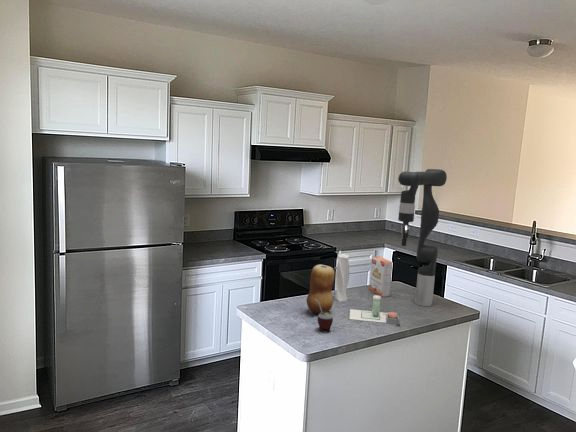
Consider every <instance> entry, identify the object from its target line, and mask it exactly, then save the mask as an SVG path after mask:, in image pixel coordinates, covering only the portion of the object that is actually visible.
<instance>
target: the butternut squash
mask: <svg viewBox="0 0 576 432" xmlns="http://www.w3.org/2000/svg"><path fill="white" fill-rule="evenodd" d="M335 277H336V273H335V270H334V268H333V267H331V266H329V265H325V264H316V265H314V266H313V267H312V269H311V274H310V282H309V291H308V294H307V297H306V300H305V302H306V304H307V307H308V309H309V310H310V311H311V312H312V313H313V314H316V315H317V314H318V315H319V314H320V313H321V310H320V307H319V304H318V302H319V303H320V306H321V309H322V312H329V311H330V310H332V307H333V304H334V296H333V292H332V291H333V290H332V289H333V286H334V283H335ZM314 299H315V300H317V301H318V302H317V301H315V300H314Z"/></svg>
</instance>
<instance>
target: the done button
mask: <svg viewBox="0 0 576 432" xmlns="http://www.w3.org/2000/svg"><path fill="white" fill-rule="evenodd" d="M397 313H398V312H395V311H389V317H388V318H395V319H397Z"/></svg>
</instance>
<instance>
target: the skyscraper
mask: <svg viewBox="0 0 576 432" xmlns="http://www.w3.org/2000/svg"><path fill="white" fill-rule="evenodd" d="M337 254H338V255H337V259H338V260H337V264H336V270H335V286H336V293H335V296H334V299H335V300H336V301H338V302H348V297H347V289H348V285H349V281H350V273H351V272H350V271H351V270H350V262H349V259H350V257H351V255H350V254H349V255H347V254H345V253H344V254H343V253H342V250H339V252H338V253H337Z"/></svg>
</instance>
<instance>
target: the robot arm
mask: <svg viewBox="0 0 576 432" xmlns="http://www.w3.org/2000/svg"><path fill="white" fill-rule="evenodd" d="M447 177H448V176H447V173H446V171H445V170H443V169H440V168H439V169H436V168H427V169H426V170H425V171H401V172H400V173H399V175H398V178H397V179H398V183H399V184H400V185H401V186H406V187H409V189H407V190H402V191H401V193H400V201H399V202H400V203H399V209H398V219H397V221H399V222H402V224H400V229H401V230H400V233H401V234H400V235H401V246H402V247H406V246H407V242H408V241H407V240H408V238H409V237H408V236H409V232H410V229H411V226H410V224H409V223H413V222H414V219H415V210H416V209H415V208H416V204H415V202H416V194H417V192H418V188H419V186H423V191H422V192H423V194H422V195H423V199H422V207H421V214H420V215H421V216H420V228H419V236H418V242H417V243H418V244H417V249H416V250H417V251H416V259H417V261H418V262H425V263H429V264H428V265H425V266H421V267H418V269H417V277H416V278H417V279H416V288H415V299H414V300H415V301H414V303H415V304H416V305H418V306H422V307H430V306H432V305H433V300H434V299H433V298H434V288H435V276H436V268H437V259H438V252H439V251H438V247H437V246H434V245H429V244H427V245H426V244H425V243H426V240H427V239H428V236H429V235H430V234H431V232H432V231H433V230H434V229H435V227H436V226H437V225H438V224H439V219H440V218H439V214H440V209H439V206H438V203H437V202H436V201H435V198H434V196H433V189H432V187H443V186H444V185H445V184H446V182H447V179H448V178H447Z"/></svg>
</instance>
